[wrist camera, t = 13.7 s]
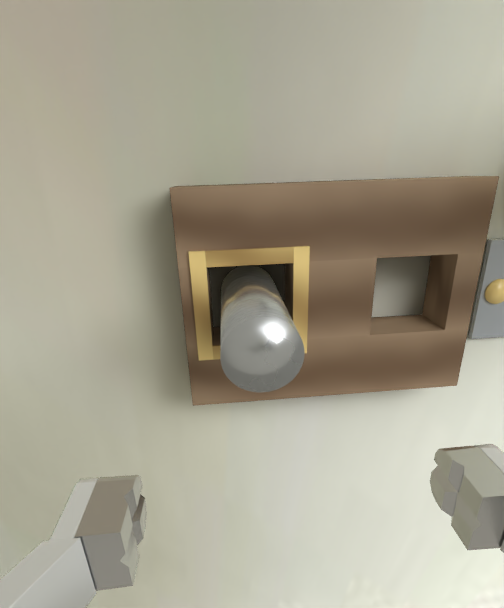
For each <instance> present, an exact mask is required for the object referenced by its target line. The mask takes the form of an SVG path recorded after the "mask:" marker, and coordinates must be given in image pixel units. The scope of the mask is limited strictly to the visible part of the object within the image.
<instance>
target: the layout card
mask: <svg viewBox="0 0 504 608" xmlns="http://www.w3.org/2000/svg"><path fill="white" fill-rule="evenodd" d="M468 337H469V338H471V339H478V338H492V337H504V239H488V242H487V247H486V252H485V257H484V262H483V267H482V271H481V276H480V281H479V286H478V291H477V296H476V301H475V306H474V311H473V316H472V321H471V325H470V330H469V335H468Z"/></svg>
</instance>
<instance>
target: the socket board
mask: <svg viewBox="0 0 504 608" xmlns="http://www.w3.org/2000/svg"><path fill="white" fill-rule="evenodd" d="M498 179H499V176H460V177H431V178H402V179H373V180H344V181H315V182H286V183H257V184H228V185H199V186H175V187H171V188H170V196H171V205H172V215H173V224H174V233H175V243H176V252H177V261H178V271H179V280H180V290H181V299H182V308H183V318H184V327H185V336H186V346H187V355H188V364H189V374H190V383H191V392H192V402H193V405H205V404H219V403H232V402H245V401H258V400H271V399H285V398H298V397H311V396H324V395H337V394H351V393H364V392H377V391H390V390H403V389H417V388H430V387H443V386H456V385H457V382H458V377H459V372H460V367H461V362H462V357H463V352H464V348H465V343H466V338H467V333H468V328H469V323H470V318H471V313H472V308H473V303H474V298H475V293H476V288H477V283H478V278H479V273H480V268H481V263H482V258H483V253H484V249H485V244H486V239H487V234H488V229H489V224H490V219H491V214H492V209H493V204H494V199H495V194H496V189H497V184H498ZM429 255H431V259H430V266H429V273H428V279H427V286H426V293H425V299H424V306H423V313H422V315H406V316H390V317H374V318H371V316H372V306H373V295H374V285H375V274H376V264H377V258H389V257H409V256H429ZM284 263H285V306H286V308H287V310H288V312H289V314H290V316H291V318H292V320H293V322H294V325H295V327H296V329H297V331H298V333H299V335H300V337H301V339H302V341H303V344H304V352H305V355H304V361H303V364H302V367H301V369H300V371H299V373H298V374H297V375H296V377H295V378H294V379H293V380H292V381H290V382H289V383H288V384H286V385H285V386H283V387H281V388H279V389H277V390H274V391H270V392H251V391H247V390H244V389H242V388H240V387H238V386H236V385H235V384H234V383H232V382H231V381H230V380H229V379H228V377H227V376H226V375H225V373H224V371H223V369H222V365H221V360H220V349H221V327H213V314H212V301H211V288H210V275H209V267H224V266H244V265H264V264H284Z"/></svg>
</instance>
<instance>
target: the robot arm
mask: <svg viewBox="0 0 504 608" xmlns="http://www.w3.org/2000/svg"><path fill="white" fill-rule="evenodd" d="M434 460H435V462H436V463H437V465H438V466H437V467H436V468H435V469H434V470H433V471H432V472H431V478H430V484H431V490H432V493H433V496H434V498H435V500H436V502H437V504H438V505H439V507H440V508H441V510H443V511H444V512H446V513H447V514H449V515H450V516H452V519H451V526H452V527H453V529H454V530H455V532H456V533H457V535H458V536H459V538H460V539H461V541H462V542H463V544H464V545H465V547H466V549H467V550H477V549H490V548H501V549H500V550H501V551H502V552H504V453H503V452H502V451H501V450H500V449H499V448H498V447H497V446H495V445H493V444H486V445H475V446H464V447H454V448H443V449H438V451H437V452H436V453H435V458H434ZM141 489H142V481H141V477H140V476H139V475H132V476H115V477H100V478H88V479H80V480H79V481H78V482H77V483H76V484H75V486H74V488H73V490H72V493H71V495H70V497H69V499H68V501H67V503H66V505H65V508H64V510H63V512H62V514H61V516H60V518H59V520H58V522H57V525H56V527H55V529H54V531H53V533H52V535H51V537H50V540H48V541H42V542H41V543H40V544H39V545H38V546H37V547H36V548H35V549H33V550H32V551H31V552H30V553H29V554H28V555H27V556H26V557H25V558H23V559H22V560H21V561H20V562H19V563H18V564H17V565H16V566H15V567H13V568H12V569H11V570H10V571H9V572H8V573H7V574H6V575H5V576H3V577H2V578H1V579H0V608H86V607H87V605H88V604H89V603H90V601H91V600H92V598H93V597H94V596H95V594H96V591H98V590H105V589H112V588H119V587H127V586H133V583H134V579H135V574H136V570H137V565H138V560H139V552H138V547H137V545H138V544H139V543H140V541H141V540H142V539H143V537H144V532H145V526H146V502H145V498H144V497H143V496H142V495H141Z"/></svg>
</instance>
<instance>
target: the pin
mask: <svg viewBox="0 0 504 608" xmlns="http://www.w3.org/2000/svg"><path fill="white" fill-rule="evenodd" d="M304 355H305V352H304V344H303V341H302V339H301V337H300V335H299V333H298V331H297V329H296V327H295V325H294V322H293V320H292V318H291V316H290V314H289V312H288V310H287V308H286V306H285V304H284V302H283V300H282V298H281V296H280V294H279V292H278V290H277V288H276V286H275V284H274V282H273V280H272V278H271V276H270V275H269V274H268V272H267V271H265V270H264V269H262V268H261V267H258V266H255V265H244V266H239V267H236V268H234V269H233V270H231V271H230V272H229V273H228V274H227V275H226V276H225V278H224V280H223V282H222V286H221V349H220V360H221V365H222V369H223V371H224V373H225V375H226V376H227V377H228V379H229V380H230V381H231V382H232V383H234V384H235V385H236V386H238V387H240V388H242V389H244V390H247V391H251V392H270V391H274V390H277V389H279V388H281V387H283V386H285V385H286V384H288V383H289V382H290V381H292V380H293V379H294V378H295V377H296V375H297V374H298V373H299V371H300V369H301V367H302V364H303V361H304Z"/></svg>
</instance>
